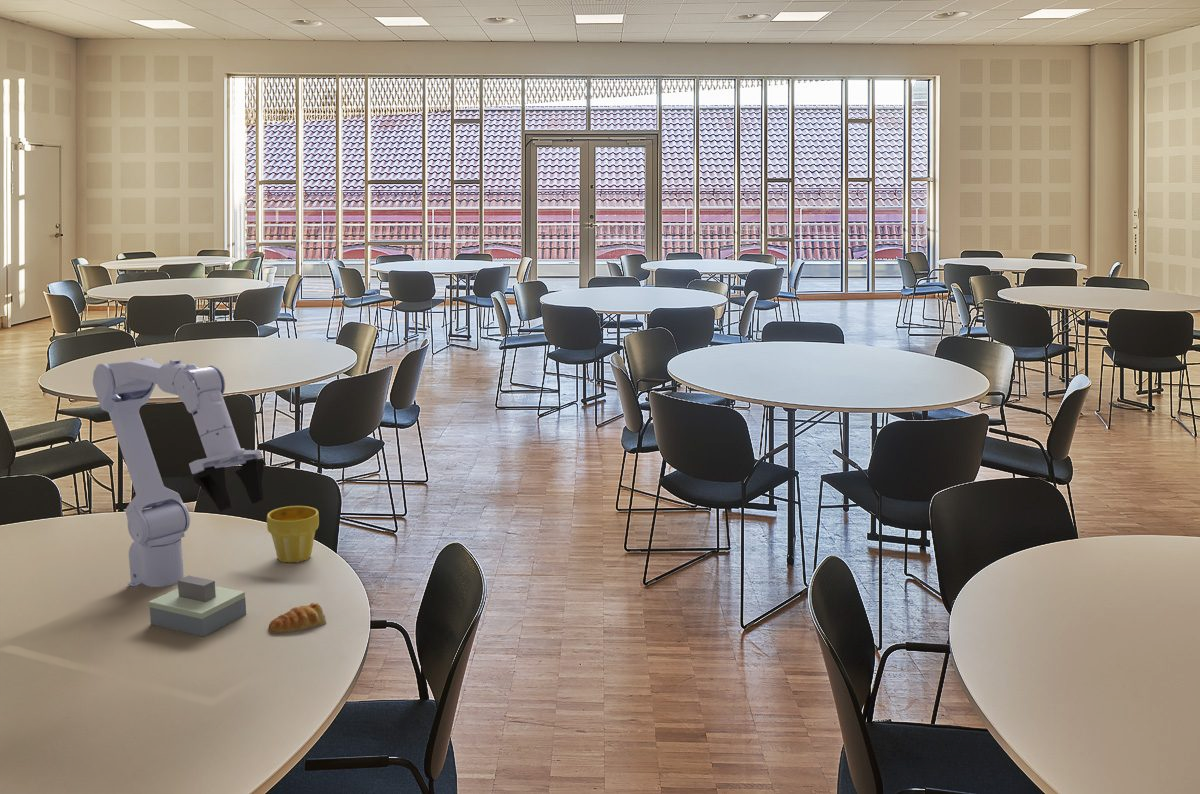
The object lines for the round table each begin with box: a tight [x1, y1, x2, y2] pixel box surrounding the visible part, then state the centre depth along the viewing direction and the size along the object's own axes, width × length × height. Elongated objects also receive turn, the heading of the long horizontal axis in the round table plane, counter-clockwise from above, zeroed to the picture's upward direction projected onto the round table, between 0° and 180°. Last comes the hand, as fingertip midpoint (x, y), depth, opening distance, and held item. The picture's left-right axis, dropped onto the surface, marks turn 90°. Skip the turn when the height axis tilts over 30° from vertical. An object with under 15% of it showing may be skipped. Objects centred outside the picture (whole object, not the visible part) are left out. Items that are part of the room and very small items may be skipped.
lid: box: [148, 575, 246, 619], centre depth 167 cm, size 12×10×5 cm
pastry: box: [268, 602, 328, 634], centre depth 167 cm, size 9×7×4 cm
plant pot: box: [266, 505, 320, 564], centre depth 200 cm, size 10×10×10 cm
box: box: [148, 597, 247, 638], centre depth 168 cm, size 12×10×4 cm
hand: (242, 505), depth 166 cm, fingers open, 7 cm apart
